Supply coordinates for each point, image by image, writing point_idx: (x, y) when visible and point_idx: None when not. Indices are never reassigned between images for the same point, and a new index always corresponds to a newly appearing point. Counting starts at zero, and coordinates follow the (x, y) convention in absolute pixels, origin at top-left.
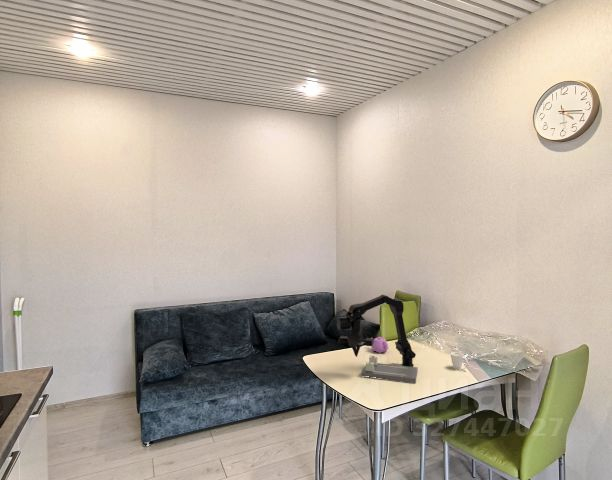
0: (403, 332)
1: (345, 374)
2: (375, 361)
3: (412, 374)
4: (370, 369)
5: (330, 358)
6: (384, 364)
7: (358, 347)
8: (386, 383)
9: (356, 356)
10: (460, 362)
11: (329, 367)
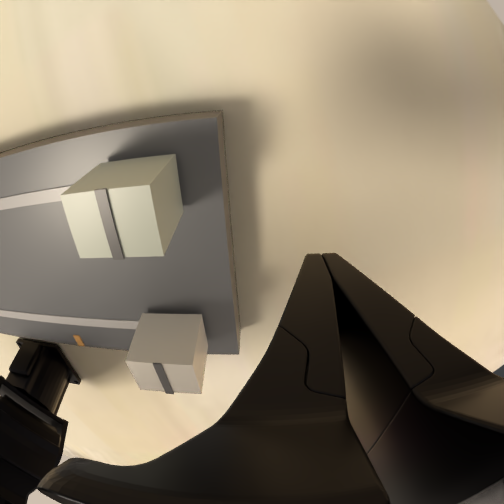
0: None
1: (388, 124)
2: (140, 336)
3: None
4: (116, 166)
5: (471, 348)
6: (109, 341)
7: (256, 434)
8: (11, 86)
9: (315, 254)
10: None
11: (498, 233)
